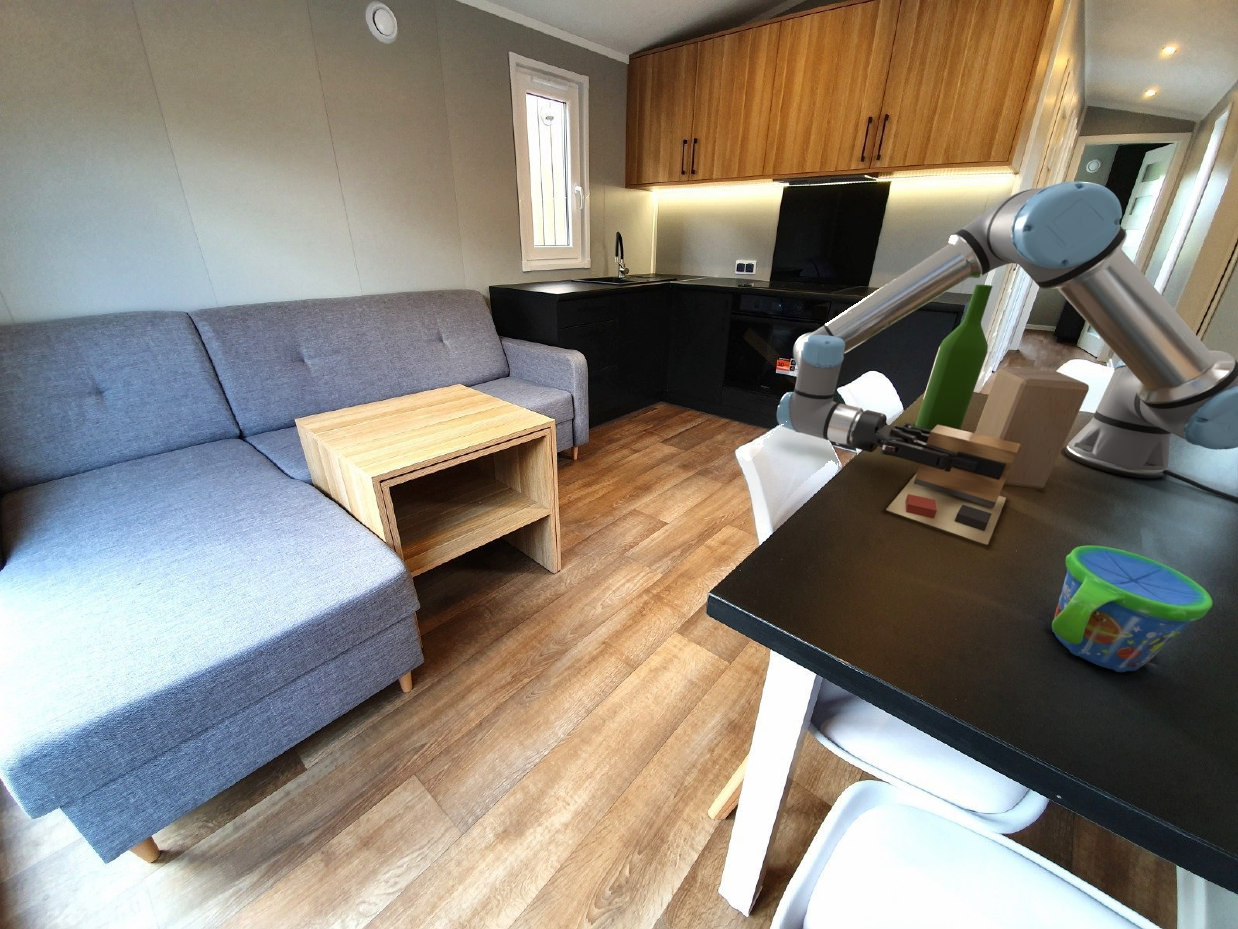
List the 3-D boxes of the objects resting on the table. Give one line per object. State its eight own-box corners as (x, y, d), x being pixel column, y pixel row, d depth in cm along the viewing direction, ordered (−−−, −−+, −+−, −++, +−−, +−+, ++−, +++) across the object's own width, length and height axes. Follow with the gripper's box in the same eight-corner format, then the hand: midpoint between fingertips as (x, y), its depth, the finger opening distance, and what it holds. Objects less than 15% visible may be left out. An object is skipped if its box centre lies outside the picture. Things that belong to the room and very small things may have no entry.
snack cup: (1095, 606, 60) (1135, 537, 56) (1203, 674, 51) (1261, 598, 47) (993, 623, 57) (1027, 551, 53) (1089, 700, 48) (1141, 620, 43)
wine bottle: (921, 421, 121) (965, 282, 107) (963, 432, 115) (1015, 286, 101) (908, 429, 116) (953, 283, 102) (951, 441, 110) (1004, 288, 96)
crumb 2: (988, 521, 77) (991, 513, 77) (984, 531, 75) (987, 523, 74) (959, 512, 80) (962, 504, 79) (954, 521, 77) (957, 513, 76)
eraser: (998, 497, 84) (1020, 443, 79) (993, 507, 80) (1016, 452, 76) (920, 474, 91) (937, 424, 87) (913, 483, 87) (930, 431, 83)
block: (1044, 492, 88) (1094, 384, 80) (984, 485, 90) (1026, 379, 82) (1016, 468, 97) (1058, 369, 89) (961, 463, 99) (997, 365, 90)
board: (1005, 500, 85) (1006, 497, 85) (986, 547, 71) (987, 544, 71) (916, 474, 93) (917, 472, 93) (884, 512, 80) (885, 509, 80)
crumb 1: (932, 507, 81) (935, 499, 80) (933, 518, 78) (936, 510, 77) (905, 501, 82) (907, 493, 82) (905, 512, 79) (908, 504, 79)
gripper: (868, 434, 101) (1004, 470, 87) (836, 459, 89) (987, 505, 75) (878, 399, 98) (1020, 431, 84) (845, 420, 86) (1006, 461, 72)
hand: (1004, 466), depth 80 cm, fingers closed on eraser, 5 cm apart
